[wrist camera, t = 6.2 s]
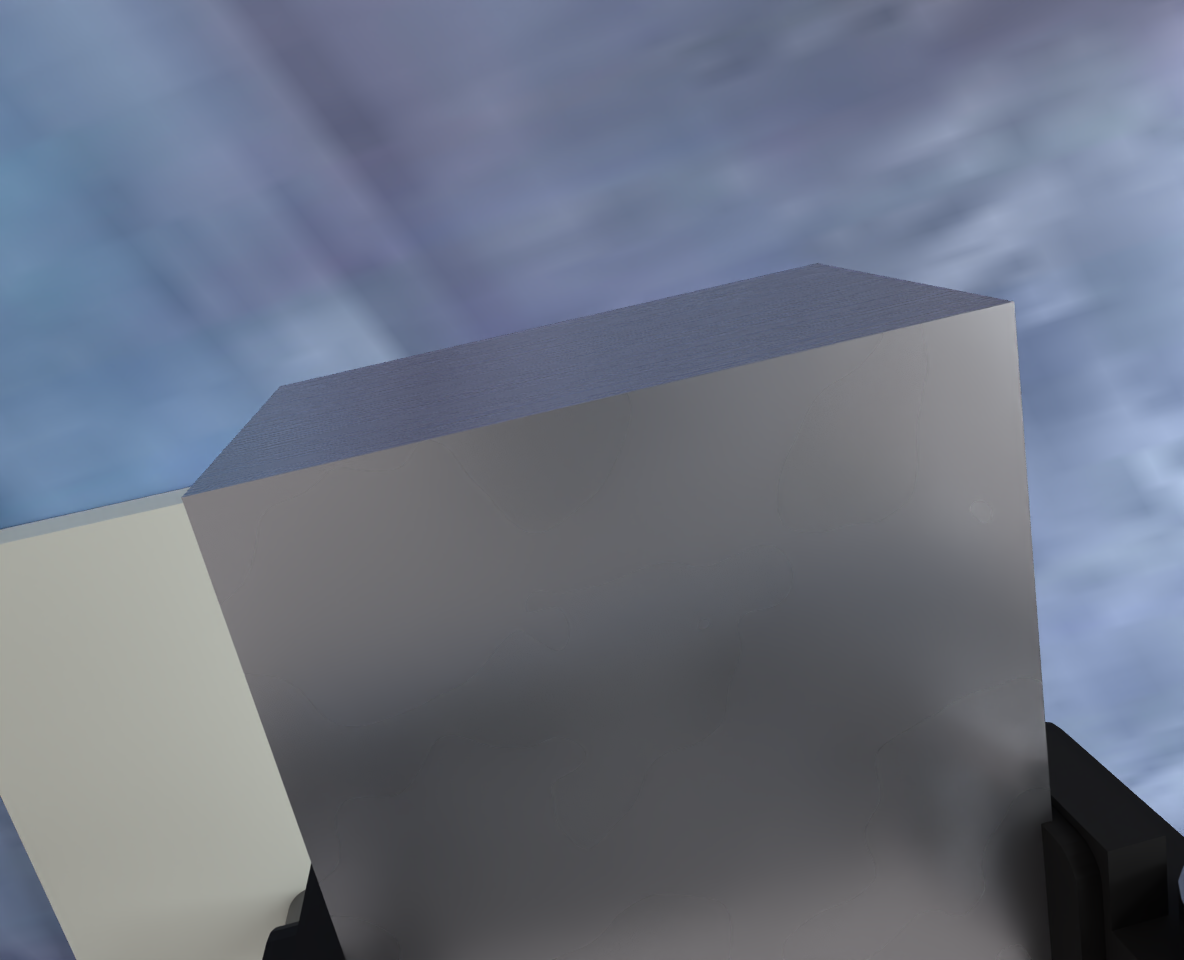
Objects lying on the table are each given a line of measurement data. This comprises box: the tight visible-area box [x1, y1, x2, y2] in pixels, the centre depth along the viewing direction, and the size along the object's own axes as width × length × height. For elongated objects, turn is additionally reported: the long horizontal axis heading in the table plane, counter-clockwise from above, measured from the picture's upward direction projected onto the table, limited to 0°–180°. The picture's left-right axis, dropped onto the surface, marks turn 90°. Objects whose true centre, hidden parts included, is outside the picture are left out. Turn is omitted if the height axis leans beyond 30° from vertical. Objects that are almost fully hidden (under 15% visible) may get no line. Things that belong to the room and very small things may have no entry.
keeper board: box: [0, 487, 311, 960], centre depth 25 cm, size 16×14×8 cm
